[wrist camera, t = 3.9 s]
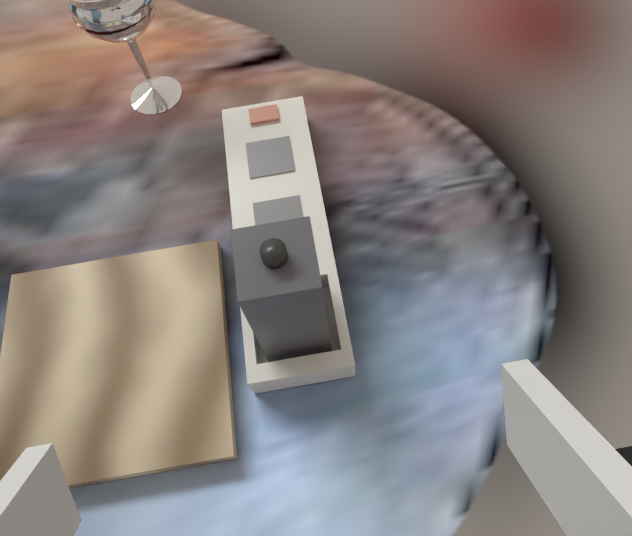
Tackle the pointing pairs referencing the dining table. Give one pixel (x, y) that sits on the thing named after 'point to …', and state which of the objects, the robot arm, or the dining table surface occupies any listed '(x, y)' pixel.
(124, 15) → the wineglass
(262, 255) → the gray knobbed block
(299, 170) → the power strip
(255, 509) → the dining table surface
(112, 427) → the oak board
